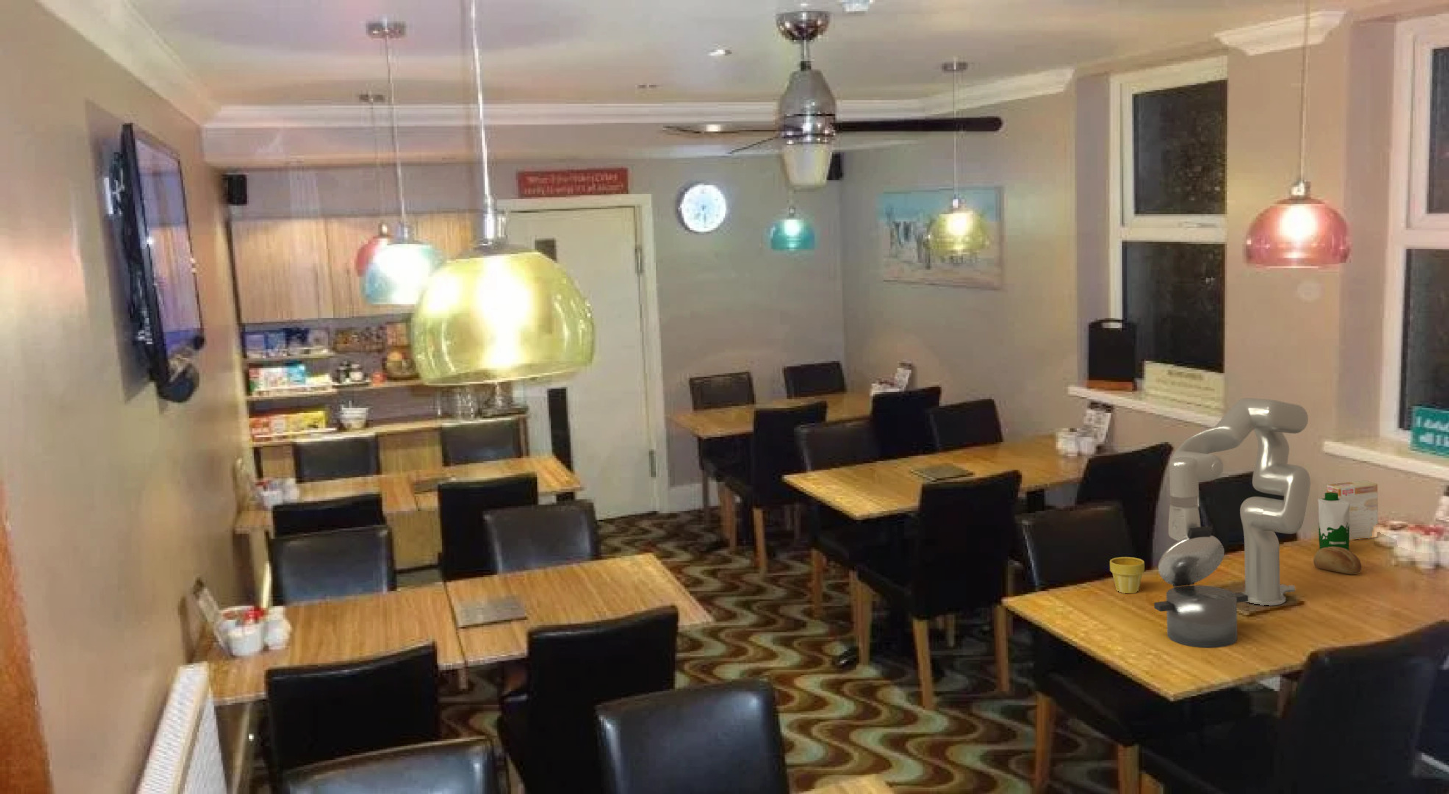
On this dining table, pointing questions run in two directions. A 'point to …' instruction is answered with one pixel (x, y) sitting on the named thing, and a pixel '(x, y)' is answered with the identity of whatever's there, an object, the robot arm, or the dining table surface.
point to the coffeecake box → (1359, 506)
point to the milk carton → (1333, 521)
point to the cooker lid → (1191, 558)
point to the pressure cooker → (1201, 615)
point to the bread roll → (1337, 560)
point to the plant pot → (1127, 573)
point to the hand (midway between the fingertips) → (1186, 564)
